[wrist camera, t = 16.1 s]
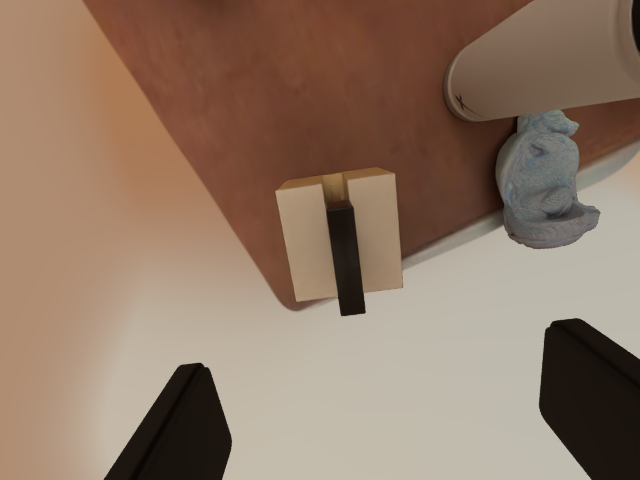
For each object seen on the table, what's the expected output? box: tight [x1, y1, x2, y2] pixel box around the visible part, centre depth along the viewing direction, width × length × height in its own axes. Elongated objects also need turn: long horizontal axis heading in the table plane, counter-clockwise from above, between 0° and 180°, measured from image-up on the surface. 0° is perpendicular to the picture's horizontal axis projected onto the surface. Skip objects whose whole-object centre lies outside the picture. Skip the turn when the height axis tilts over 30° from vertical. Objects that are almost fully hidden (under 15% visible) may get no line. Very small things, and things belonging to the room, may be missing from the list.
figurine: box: [496, 109, 600, 249], centre depth 26 cm, size 8×12×7 cm, turn 18°
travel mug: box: [443, 0, 640, 122], centre depth 16 cm, size 6×7×20 cm
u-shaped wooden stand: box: [275, 167, 403, 302], centre depth 26 cm, size 9×9×7 cm
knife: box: [326, 185, 366, 316], centre depth 23 cm, size 7×2×11 cm, turn 8°
